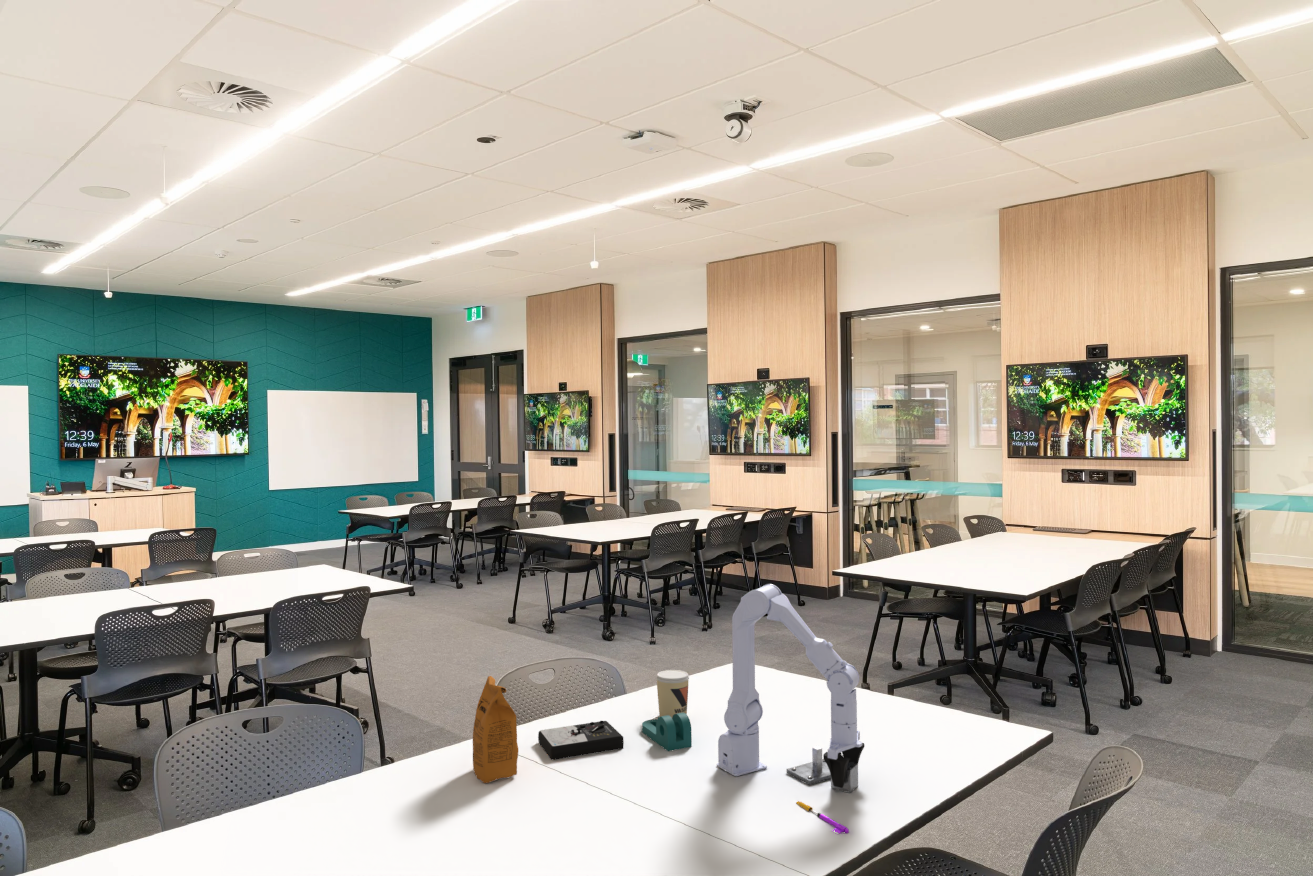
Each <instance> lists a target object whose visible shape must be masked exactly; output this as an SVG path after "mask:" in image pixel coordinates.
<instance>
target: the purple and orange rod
mask: <svg viewBox="0 0 1313 876" xmlns="http://www.w3.org/2000/svg"><path fill="white" fill-rule="evenodd" d="M796 804H797V805H798V806H799V807H801V808H803V809H804V810H805V811H806V812H810V811H811V812H812V813H813V814H815V815H816V816H817V817H818V818H819V819H820V820H822V821H824V822H825V823H827V822H828V823H827V824H829V823H830V825H831V826H832V825H833V827H834V828H833V829H832V830H833V831H834V830H835V832H838V833H841V832H845V833H844V834H849V832H850V830H849V828H848V827H846V825H843V824H841V823H838V822H837V821H835V820H834V819H832V818H830V817H829V816H826V815H825V814H824V813H821V812H816V811H814V810H813V807H812V806H810V805H808V804H806V803H804V802H802V801H798V800H797V801H796ZM833 831H832V832H833ZM841 834H842V833H841Z"/></svg>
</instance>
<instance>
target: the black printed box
mask: <svg viewBox="0 0 1313 876" xmlns="http://www.w3.org/2000/svg"><path fill="white" fill-rule="evenodd" d="M537 735H538V736H537V738H538V739H537V740H538V745H539V746H540V747H541V749H542V750H543V751H544V752H545V754H546V755H547V757H549V759H550V760H551V761H556V760H561V759H562V760H563V759H567V758H574V757H580V756H581V757H582V756H585V755H592V754H599V753H604V752H611V751H617V750H623V749H624V736H623V735H622V734H621V733H620V732H619V731H618V730H617V729H616V728H615V727H614V726H612V724H611V723H609V722H608V721H607V720H600V721H591V722H587V723H581V724H574V725H566V726H560V727H554V728H552V727H551V728H547V729H546V728H545V729H540V730H539V731H538V734H537Z"/></svg>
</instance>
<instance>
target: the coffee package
mask: <svg viewBox="0 0 1313 876" xmlns="http://www.w3.org/2000/svg"><path fill="white" fill-rule="evenodd" d="M505 693H507V688H506V687H504V686H500V685H496V678H494V677H493V676H492V675H489V676H487V678H486V681H485V684H484V687H483V689H482V692H481V695H480V697H479V699H478V703H477V705H476V710H475V711H476V712H475V714H474V715H475V717H474V723H473V729H472V765H473V766H472V767H473V768H472V769H473V772H474V774H475V777H476V779H478V780H480V781H481V782H482V783H483V784H489V783H492V782H495V781H496V780H500V779H506V778H507V779H508V778H512V777H513V776H516V775H518V770H517V769H518V757H519V746H518V731H517V728H518V727H517V715H516V713H515V711H514V709H513V708H512V706H511V705H510V703H508V701H507V700H506V697H505V696H504V694H505Z"/></svg>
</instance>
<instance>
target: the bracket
mask: <svg viewBox="0 0 1313 876" xmlns="http://www.w3.org/2000/svg"><path fill="white" fill-rule="evenodd" d="M689 717H690V716H688V714H686V713H678V714H674V715H673V717H672V718H671V717H670V716H669V715H666V716H661V717H660V716H658V717H657V719H655V718H654V719H647V720H645V721H644V720H643V722H641V731H642V733H643V735H645V736H646V735H647V736H646V737H648V738H649V739H650V738H651V740H652V741H653V742H654V743H656V744H657V745H658V746H660V747H661V746H662V747H661V748H662V749H664V750H665V749H666V750H665V751H667V752H672V750H673V751H677V750H683V749H688V748H691V747H693V746H692V744H693V743H692V723H691V721H690V718H689Z"/></svg>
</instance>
